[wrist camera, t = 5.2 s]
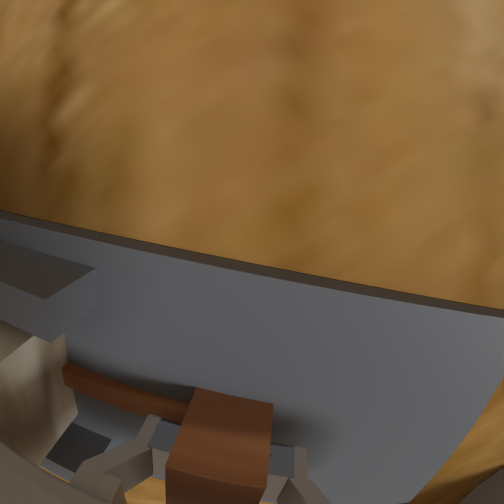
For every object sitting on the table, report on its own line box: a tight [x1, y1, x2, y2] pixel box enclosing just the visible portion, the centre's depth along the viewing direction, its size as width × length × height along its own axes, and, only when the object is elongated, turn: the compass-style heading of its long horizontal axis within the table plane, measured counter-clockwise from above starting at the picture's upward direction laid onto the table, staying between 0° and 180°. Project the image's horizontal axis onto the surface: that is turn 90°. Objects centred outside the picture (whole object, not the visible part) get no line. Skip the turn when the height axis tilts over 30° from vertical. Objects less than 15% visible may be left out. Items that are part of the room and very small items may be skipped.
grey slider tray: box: [0, 211, 504, 504], centre depth 11 cm, size 13×31×4 cm, turn 80°
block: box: [0, 319, 274, 504], centre depth 10 cm, size 6×15×5 cm, turn 79°
